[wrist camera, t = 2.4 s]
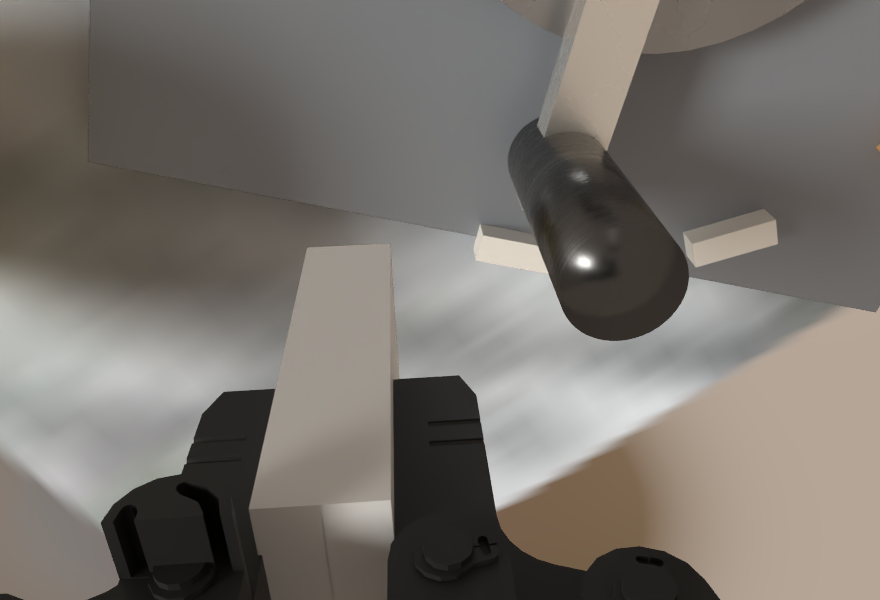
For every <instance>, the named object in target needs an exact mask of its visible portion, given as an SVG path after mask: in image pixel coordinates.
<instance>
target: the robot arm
mask: <svg viewBox="0 0 880 600" xmlns="http://www.w3.org/2000/svg"><path fill="white" fill-rule="evenodd" d="M101 525H102V528H103V531H104V534H105V537H106V540H107V543H108V546H109V549H110V551H111V555H112V558H113V561H114V563H115V567H116V570H117V573H118V575H119V578H120V580H119V583H118V585H117V586H116V587H114V588H112V589H111V590H109V591H107V592H105V593H103V594H100V595H98V596H96V597H93V598H90V599H88V600H720V599H719V598H718V596H717V595H716V594H715V593H714V591H713V590H712V588H711V587H710V586H709V584H708V583H707V582H706V581H705V579H704V578H703V577H701V576H700V575H699V574H698V573H697V572H696V571H695V570H694V569H693V568H692V567H691V566H690V565H689V564H688V563H686V562H684V561H682V560H680V559H678V558H676V557H674V556H672V555H670V554H668V553H666V552H664V551H660V550H655V549H649V548H645V547H630V548H620V549H615V550H613V551H611V552H609V553H606V554H605V555H602V556H600V557H598V558H597V559H596V560H595V561H594V563H593V564H592V565H591V566H590V568H589V569H588V570H587V571H583V570H578V569H573V568H569V567H564V566H559V565H554V564H551V563H548V562H545V561H541V560H538V559H536V558H534V557H532V556H530V555H528V554H527V553H525V552H523V551H521V550H520V549H519V548H518V547H516V546H515V545H514V544H513V543H512V542H510V541H509V539H508V538H507V536H506V535H505V534H504V532H503V531H502V530H501V528H500V525H499V521H498V519H497V515H496V509H495V504H494V498H493V492H492V486H491V480H490V474H489V468H488V462H487V456H486V450H485V445H484V441H483V433H482V427H481V423H480V415H479V409H478V403H477V397H476V394H475V393H474V392H473V391H472V390H471V389H470V388H469V386H468V385H467V384H466V383H465V382H464V381H463V380H462V378H461V377H460V376H443V377H427V378H410V379H399V364H398V350H397V335H396V321H395V307H394V292H393V278H392V264H391V250H390V243H384V244H365V245H347V246H328V247H309V248H307V251H306V255H305V259H304V264H303V268H302V273H301V277H300V282H299V286H298V291H297V295H296V300H295V304H294V309H293V313H292V318H291V322H290V327H289V331H288V336H287V340H286V345H285V349H284V353H283V358H282V362H281V367H280V371H279V376H278V380H277V385H276V389H265V390H249V391H232V392H223V393H222V394H221V395H220V396H219V397H218V398H217V400H216V401H215V402H214V403H213V404H212V405H211V406H210V407H209V408H208V409H207V410H206V411H205V412H204V413H203V414H202V417H201V419H200V422H199V425H198V428H197V431H196V434H195V436H194V443H193V444H192V445H191V448H190V451H189V454H188V456H187V464H185V465H184V468H183V471H182V474H180V475H174V476H169V477H164V478H159V479H156V480H153V481H151V482H149V483H146V484H144V485H142V486H140V487H137V488H135V489H133V490H132V491H130V492H129V493H128V494H127V495H125V496H124V497H123V498H121V499H120V500H119V501H117V502H116V503H115V504H114V505H113V506H112V507H111V509H110V510H109V512H108V513H107V514H106V516H105V517H104V519H103V520H102V522H101ZM0 600H23V599H20V598H17V597H15V596H12V595H9V594H0Z"/></svg>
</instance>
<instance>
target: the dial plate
mask: <svg viewBox="0 0 880 600" xmlns="http://www.w3.org/2000/svg"><path fill="white" fill-rule="evenodd" d="M562 41H563V38H562V37H560V36H557V35H555V34H553V33H551V32H549V31H547V30H545V29H543V28H541V27H539V26H537V25H535V24H533V23H532V22H530V21H529V20H527V19H526V18H524V17H523V16H521V15H520V14H518V13H517V12H515V11H514V10H513V9H511V8H510V7H508V6H507V5H506V4H505V3H503V2H502V1H501V0H90V33H89V116H88V162H91V163H96V164H101V165H106V166H112V167H117V168H122V169H127V170H133V171H138V172H143V173H148V174H154V175H159V176H164V177H169V178H175V179H180V180H185V181H190V182H196V183H201V184H206V185H211V186H216V187H222V188H227V189H232V190H237V191H243V192H248V193H253V194H258V195H264V196H269V197H274V198H279V199H285V200H290V201H295V202H300V203H306V204H311V205H316V206H321V207H327V208H332V209H337V210H342V211H347V212H353V213H358V214H363V215H368V216H374V217H379V218H384V219H389V220H395V221H400V222H405V223H410V224H416V225H421V226H426V227H431V228H437V229H442V230H447V231H452V232H458V233H463V234H468V235H473V236H477V237H476V241H475V244H474V248H473V249H474V254H475V258H476V261H481V262H486V263H492V264H497V265H503V266H508V267H513V268H519V269H524V270H530V271H535V272H540V273H546V274H548V271H547V268H546V266H545V263H544V261H543V258H542V256H541V253H540V251H539V248H538V246H537V243H536V240H535V238H534V235H533V233H532V230H531V228H530V225H529V223H528V220H527V217H526V215H525V212H524V210H522V209H521V206H520V203H519V201H518V198H517V196H516V194H517V192H516V189H515V187H514V184H513V182H512V179H511V177H510V174H509V170H508V154H509V149H510V147H511V144H512V142H513V140H514V138H515V137H516V135H517V134H518V133H519V131H520V130H521V129H522V128H523V127H524V126H526V125H527V124H528V123H530V122H531V121H533V120H535V119H537V118H539V117H540V114H541V111H542V107H543V104H544V101H545V97H546V94H547V91H548V87H549V84H550V81H551V77H552V74H553V71H554V67H555V64H556V61H557V57H558V54H559V51H560V47H561V44H562ZM607 152H608V154H609V155H610V156H611V157H612V159H613V160H614V161H615V163H616V164H617V165H618V167H619V168H620V169H621V171H622V172H623V173H624V174H625V176H626V177H627V178H628V180H629V181H630V182H631V184H632V185H633V186H634V188H635V189H636V190H637V191H638V193H639V194H640V195H641V197H642V198H643V199H644V201H645V202H646V203H647V205H648V206H649V207H650V208H651V210H652V211H653V212H654V214H655V215H656V216H657V218H658V219H659V220H660V222H661V223H662V224H663V225H664V227H665V228H666V229H667V231H668V232H669V233H670V235H671V236H672V237H673V239H674V240H675V241H676V243H677V244H678V245H679V246H680V248H681V249H682V251H683V253H684V255H685V257H686V260H687V263H688V269H689V277H693V278H699V279H704V280H709V281H714V282H720V283H725V284H730V285H735V286H741V287H746V288H751V289H756V290H762V291H767V292H772V293H777V294H783V295H788V296H793V297H798V298H803V299H809V300H814V301H819V302H824V303H830V304H835V305H840V306H845V307H851V308H856V309H861V310H866V311H872V312H876V311H877V309H878V308H879V306H880V0H805V1H804V2H802V3H801V4H799V5H798V6H796V7H795V8H793V9H792V10H790V11H789V12H787V13H786V14H784V15H782V16H780V17H778V18H776V19H774V20H773V21H771V22H769V23H767V24H765V25H763V26H761V27H759V28H757V29H755V30H753V31H750V32H748V33H745V34H743V35H740V36H737V37H735V38H732V39H730V40H727V41H724V42H722V43H717V44H713V45H709V46H705V47H701V48H697V49H693V50H688V51H680V52H671V53H662V54H641V55H640V58H639V61H638V64H637V66H636V69H635V72H634V75H633V78H632V81H631V84H630V86H629V89H628V92H627V95H626V98H625V101H624V104H623V106H622V109H621V112H620V115H619V118H618V121H617V124H616V126H615V129H614V132H613V135H612V138H611V141H610V144H609V146H608V149H607Z"/></svg>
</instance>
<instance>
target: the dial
mask: <svg viewBox="0 0 880 600" xmlns="http://www.w3.org/2000/svg"><path fill="white" fill-rule="evenodd" d="M501 1H502V2H503V3H505V4H506V5H507V6H508V7H510V8H511V9H513V10H514V11H515V12H517V13H518V14H520V15H521V16H523V17H524V18H526V19H527V20H529V21H530V22H532V23H533V24H535V25H537V26H539V27H541V28H543V29H545V30H547V31H549V32H551V33H553V34H555V35H557V36H560V37H562V38H563V41H562V44H561V47H560V51H559V54H558V57H557V61H556V64H555V67H554V71H553V74H552V77H551V81H550V84H549V87H548V91H547V94H546V97H545V101H544V104H543V107H542V111H541V114H540V117H539V118H537V119H535V120H533V121H531V122H530V123H528V124H527V125H526V126H524V127H523V128H522V129H521V130H520V131H519V133H518V134H517V135H516V137H515V138H514V140H513V142H512V144H511V147H510V149H509V154H508V170H509V174H510V177H511V179H512V182H513V184H514V187H515V189H516V192H517V194H516V196H517V198H518V201H519V203H520V206H521V209H522V210H524V212H525V215H526V217H527V220H528V223H529V225H530V228H531V230H532V233H533V235H534V238H535V240H536V243H537V246H538V248H539V251H540V253H541V256H542V258H543V261H544V263H545V266H546V268H547V271H548V274H549V276H550V279H551V281H552V284H553V286H554V289H555V291H556V294H557V297H558V299H559V302H560V304H561V307H562V309H563V312H564V313H565V315H566V317H567V318H568V320H569V321H570V322H571V324H572V325H574V326H575V327H576V328H577V329H578V330H580V331H581V332H583V333H584V334H586V335H588V336H591V337H594V338H597V339H601V340H609V341H620V340H628V339H632V338H636V337H639V336H642V335H644V334H647V333H649V332H651V331H653V330H654V329H656V328H658V327H659V326H660V325H662V324H663V323H664V322H665V321H667V320H668V319H669V318H670V317H671V316H672V315H673V313H674V312H675V311H676V310H677V308H678V307H679V305H680V304H681V302H682V300H683V298H684V296H685V293H686V290H687V286H688V281H689V269H688V263H687V260H686V257H685V255H684V253H683V251H682V249H681V248H680V246H679V245H678V244H677V243H676V241H675V240H674V239H673V237H672V236H671V235H670V233H669V232H668V231H667V229H666V228H665V227H664V225H663V224H662V223H661V222H660V220H659V219H658V218H657V216H656V215H655V214H654V212H653V211H652V210H651V208H650V207H649V206H648V205H647V203H646V202H645V201H644V199H643V198H642V197H641V195H640V194H639V193H638V191H637V190H636V189H635V188H634V186H633V185H632V184H631V182H630V181H629V180H628V178H627V177H626V176H625V174H624V173H623V172H622V171H621V169H620V168H619V167H618V165H617V164H616V163H615V161H614V160H613V159H612V157H611V156H610V155H609V154H608V152H607V149H608V146H609V144H610V141H611V138H612V135H613V132H614V129H615V126H616V124H617V121H618V118H619V115H620V112H621V109H622V106H623V104H624V101H625V98H626V95H627V92H628V89H629V86H630V84H631V81H632V78H633V75H634V72H635V69H636V66H637V64H638V61H639V58H640V55H641V54H662V53H671V52H680V51H688V50H693V49H697V48H701V47H705V46H709V45H713V44H717V43H722V42H724V41H727V40H730V39H732V38H735V37H737V36H740V35H743V34H745V33H748V32H750V31H753V30H755V29H757V28H759V27H761V26H763V25H765V24H767V23H769V22H771V21H773V20H774V19H776V18H778V17H780V16H782V15H784V14H786V13H787V12H789V11H790V10H792V9H793V8H795V7H796V6H798V5H799V4H801V3H802V2H804V1H805V0H501Z"/></svg>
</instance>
